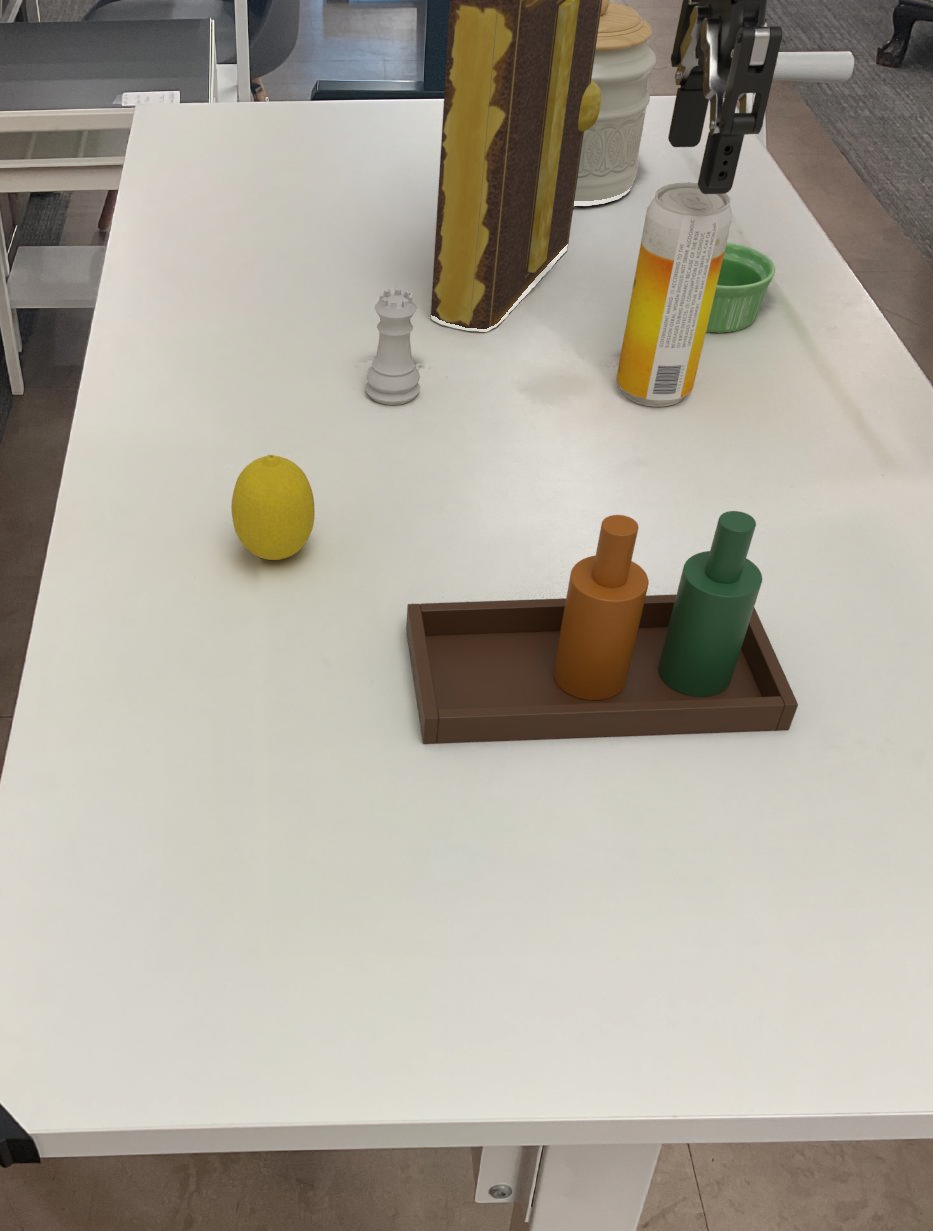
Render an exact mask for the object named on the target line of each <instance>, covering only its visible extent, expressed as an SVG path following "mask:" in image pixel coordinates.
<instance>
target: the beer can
mask: <svg viewBox="0 0 933 1231" xmlns="http://www.w3.org/2000/svg"><path fill="white" fill-rule="evenodd" d="M644 218H645V219H644V224H643V229H642V235H641V240H640V246H639V250H638V256H637V261H636V262H637V263H636V268H635V273H634V278H633V284H632V290H631V294H630V300H629V306H628V312H627V317H626V323H625V327H624V334H623V338H622V339H623V340H622V345H621V350H620V356H619V360H618V361H619V362H618V367H617V372H616V383H617V385H618V386H619V388H620V390H621V393H622V394H623V396H624V397H625V398H626V399H627V400H629V401H631V402H633V403H635V404H638V405H642V406H646V407H654V408H662V407H663V408H664V407H669V406H670V407H671V406H673V405H676V404H678V403H679V402H681V401H682V400H683V399H684V398H685V396H688V395H689V394H690V393H691V392H692V391H693V389H694V386H695V381H696V377H697V372H698V369H699V365H700V360H701V356H702V351H703V348H704V342H705V338H706V333H707V332H706V330H707V325H708V321H709V317H710V313H711V308H712V304H713V300H714V295H715V291H716V287H717V282H718V278H719V274H720V269H721V265H722V261H723V256H724V252H725V248H726V243H727V242H728V238H729V234H730V230H731V229H730V228H731V226H732V223H733V222H732V221H733V213H732V208H731V197H730V196H729V194H728V193H725V194H703V193H702V192H701V191H700V189H699V188H698V182H677V183H671V184H666V185H664V186H662V187H660V188H659V189H657V190H656V192H655V195H654V197H653V199H652V200H651V202H650V203H649V205H648V206H647V208H646V213H645V217H644Z"/></svg>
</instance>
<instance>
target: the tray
mask: <svg viewBox="0 0 933 1231" xmlns="http://www.w3.org/2000/svg"><path fill="white" fill-rule="evenodd" d="M676 595H677V593H676V594H652V595H651V594H649V595H647V594H646V597H645V602H644V606H643V610H642V615H641V619H640V623H639V628H638V632H637V636H636V641H635V645H634V649H633V654H632V658H631V662H630V667H629V671H628V675H627V680H626V684H625V686H624V688H623V689H622V691H621V692H620V693H618V694H617V695H615V696H614V697H611V698H609V699H605V700H597V701H592V700H584V699H580V698H576V697H574V696H571V695H569V694H568V693H566V692H565V691H563V690H562V689H561V688H560V687H559V686H558V685H557V683H556V681H555V678H554V666H555V660H556V655H557V649H558V643H559V637H560V632H561V626H562V620H563V614H564V608H565V603H566V598H562V597H561V598H537V599H535V598H534V599H512V600H509V599H508V600H482V601H481V600H480V601H478V600H477V601H454V602H426V603H425V602H424V603H422V602H421V603H407V606H406V622H405V623H406V624H405V630H406V638H407V644H408V645H407V646H408V651H409V658H410V665H411V670H412V671H411V672H412V678H413V685H414V693H415V698H416V707H417V712H418V719H419V726H420V733H421V739H422V744H423V745H442V744H443V745H444V744H466V743H467V744H468V743H493V742H497V743H498V742H521V741H548V740H572V739H573V740H575V739H601V738H623V737H624V738H627V737H628V738H629V737H651V736H653V737H655V736H675V735H676V736H679V735H680V736H681V735H703V734H727V733H730V734H731V733H732V734H733V733H754V732H755V733H756V732H757V733H758V732H781V731H782V732H783V731H789V730H790V728H791V725H792V723H793V720H794V718H795V715H796V712H797V709H798V706H799V703H798V701H797V698H796V696H795V694H794V692H793V690H792V688H791V685H790V683H789V681H788V679H787V676H786V674H785V672H784V669H783V667H782V665H781V663H780V661H779V659H778V656H777V654H776V652H775V650H774V647H773V645H772V643H771V640H770V639H769V636H768V633H767V632H766V630H765V627H764V625H763V623H762V621H761V619H760V616H759V614H758V612H757V610H756V607H755V606H754V609H753V612H752V615H751V619H750V622H749V625H748V628H747V631H746V635H745V638H744V641H743V644H742V647H741V650H740V654H739V657H738V660H737V663H736V666H735V670H734V673H733V676H732V679H731V682H730V684H729V686H728V687H727V688H726V689H725V690H724V691H723V692H721V693H719V694H716V695H713V696H708V697H696V696H689V695H685V694H682V693H680V692H677V691H675V690H674V689H672V688H670V687H669V686H668V685H667V684H665V683H664V681H663V680H662V679H661V677H660V675H659V671H658V666H659V662H660V658H661V654H662V650H663V646H664V642H665V638H666V634H667V630H668V626H669V622H670V618H671V614H672V610H673V607H674V603H675V599H676Z"/></svg>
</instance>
